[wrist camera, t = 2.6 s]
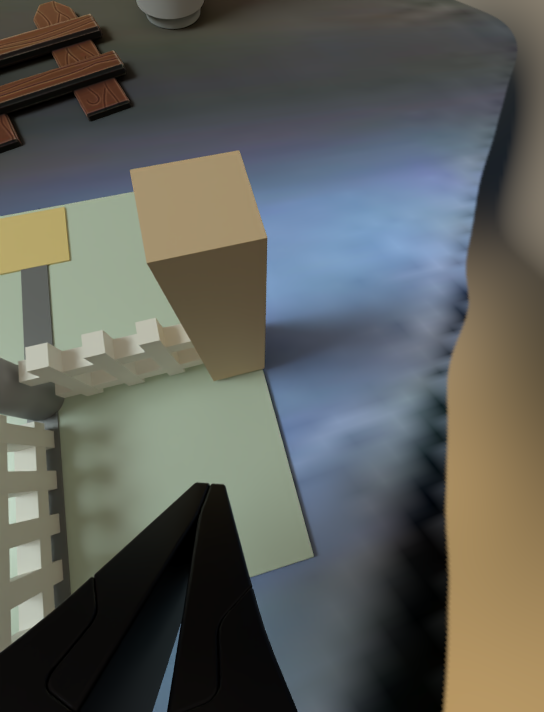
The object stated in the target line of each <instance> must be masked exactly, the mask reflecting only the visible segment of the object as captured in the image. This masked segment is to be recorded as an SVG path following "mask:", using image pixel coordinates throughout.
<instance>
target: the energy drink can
mask: <svg viewBox="0 0 544 712" xmlns="http://www.w3.org/2000/svg"><path fill="white" fill-rule="evenodd" d="M136 2H137V5H138V6H139V8H140V9H141V10H142V11H143V12H144V13H146V16H147V18H148V20H149V21H150V22H151V23H153V24H154V25H156V26H158V27H161V28H166V29H179V28H183V27H187V26H189V25H191V24H193V23H194V22H195V21H196V20H197V19H198V18H199V16H200V8H201V6H202V5H203V3H204V0H136Z"/></svg>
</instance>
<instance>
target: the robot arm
mask: <svg viewBox="0 0 544 712" xmlns="http://www.w3.org/2000/svg"><path fill="white" fill-rule="evenodd" d="M180 624H181V628H180V634H179V640H178V646H177V653H176V659H175V665H174V672H173V678H172V684H171V690H170V697H169V703H168V709H167V712H298V711H297V709H296V706H295V704H294V702H293V699H292V697H291V694H290V692H289V689H288V687H287V684H286V682H285V680H284V677H283V675H282V672H281V670H280V667H279V665H278V662H277V660H276V658H275V655H274V652H273V650H272V647H271V644H270V642H269V639H268V636H267V633H266V631H265V628H264V625H263V621H262V618H261V615H260V612H259V608H258V605H257V601H256V597H255V594H254V590H253V589H252V584H251V580H250V576H249V573H248V569H247V565H246V561H245V557H244V554H243V550H242V546H241V542H240V539H239V535H238V531H237V527H236V523H235V520H234V516H233V512H232V508H231V504H230V501H229V497H228V493H227V489H226V486H225V485H224V484H215V483H212V484H211V485H210V484H209V483H201V482H196V483H194V484H193V485H192V486H191V487H190V488H189V489H188V490H187V491H185V492H184V493H183V494H182V495H181V496H180V497H179V498H178V499H177V500H176V501H174V502H173V503H172V504H171V505H170V506H169V507H168V508H167V509H166V510H165V511H163V512H162V513H161V514H160V515H159V516H158V517H157V518H156V519H155V520H154V521H153V522H151V523H150V524H149V525H148V526H147V527H146V528H145V529H144V530H143V531H142V532H140V533H139V534H138V535H137V536H136V537H135V538H134V539H133V540H132V541H131V542H129V543H128V544H127V545H126V546H125V547H124V548H123V549H122V550H121V551H120V552H118V553H117V554H116V555H115V556H114V557H113V558H112V559H111V560H110V561H109V562H107V563H106V564H105V565H104V566H103V567H102V568H101V569H100V570H99V571H98V572H96V573H95V574H94V577H90V578H89V579H88V580H87V581H86V582H85V583H84V584H83V585H81V586H80V587H79V588H78V589H77V590H76V591H75V592H74V593H72V594H71V595H70V596H69V597H68V598H67V599H66V600H64V601H63V602H62V603H61V604H60V605H59V606H58V607H56V608H55V609H54V610H53V611H52V612H51V613H49V614H48V615H47V616H46V617H44V618H43V619H42V620H41V621H39V622H38V623H37V624H36V625H34V626H33V627H32V628H31V629H30V630H28V631H27V632H26V633H25V634H23V635H22V636H21V637H20V638H18V639H17V640H16V641H14V642H13V643H12V644H11V645H9V646H8V647H7V648H5V649H4V650H3V651H2V652H0V712H152V711H153V708H154V705H155V702H156V699H157V696H158V692H159V689H160V686H161V683H162V680H163V677H164V674H165V671H166V668H167V665H168V661H169V658H170V655H171V652H172V649H173V646H174V643H175V640H176V637H177V633H178V630H179V627H180Z"/></svg>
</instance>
